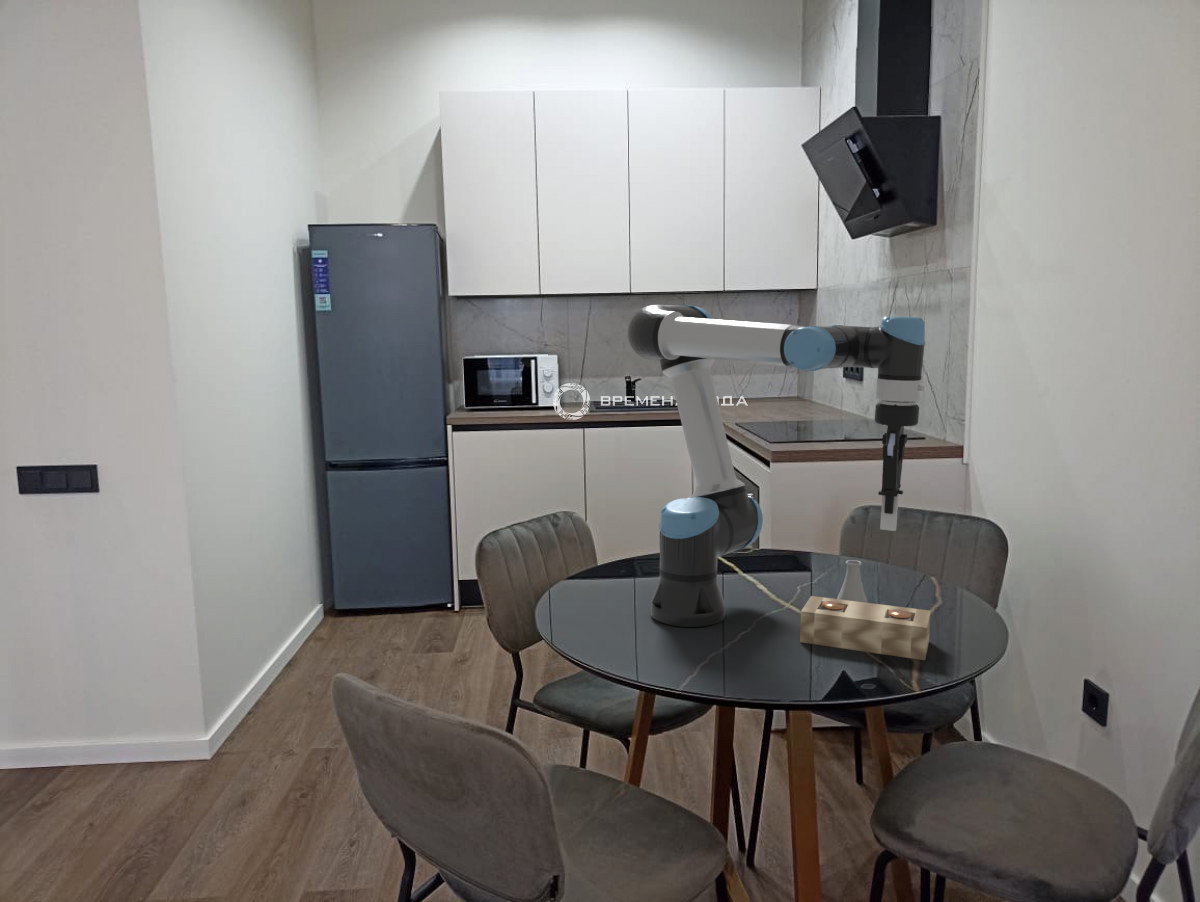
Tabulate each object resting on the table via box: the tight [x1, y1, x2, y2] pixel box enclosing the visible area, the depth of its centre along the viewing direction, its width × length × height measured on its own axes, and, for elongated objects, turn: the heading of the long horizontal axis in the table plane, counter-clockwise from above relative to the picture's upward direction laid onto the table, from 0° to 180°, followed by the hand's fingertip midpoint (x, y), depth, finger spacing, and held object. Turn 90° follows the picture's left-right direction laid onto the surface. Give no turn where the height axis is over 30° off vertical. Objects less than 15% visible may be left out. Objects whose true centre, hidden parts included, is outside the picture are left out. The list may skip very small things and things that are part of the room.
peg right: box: [888, 609, 911, 621], centre depth 159 cm, size 4×4×6 cm
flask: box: [836, 559, 869, 603], centre depth 181 cm, size 7×7×10 cm
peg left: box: [822, 601, 844, 612], centre depth 164 cm, size 4×4×6 cm
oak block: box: [799, 595, 932, 661], centre depth 162 cm, size 22×10×6 cm, turn 66°
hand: (888, 529), depth 161 cm, fingers closed
